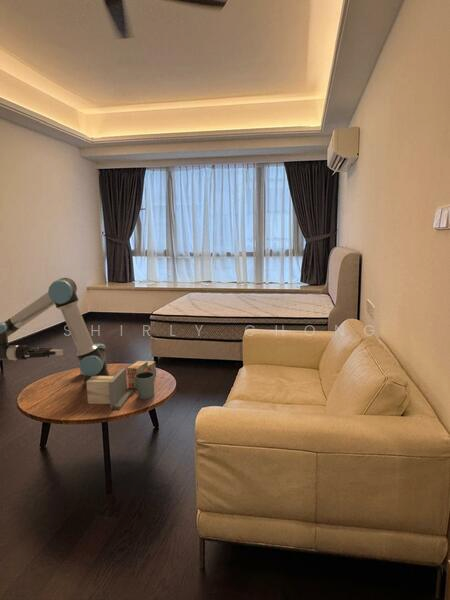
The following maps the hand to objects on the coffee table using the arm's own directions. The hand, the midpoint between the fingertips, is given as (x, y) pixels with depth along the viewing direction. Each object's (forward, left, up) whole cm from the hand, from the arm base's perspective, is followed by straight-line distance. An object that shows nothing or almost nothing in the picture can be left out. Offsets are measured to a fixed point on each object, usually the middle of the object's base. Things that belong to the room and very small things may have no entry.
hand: (62, 352), depth 200 cm
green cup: (-6, +41, -26) cm, 49 cm away
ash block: (0, +20, -26) cm, 33 cm away
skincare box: (-39, -6, -26) cm, 47 cm away
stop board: (0, +30, -26) cm, 40 cm away
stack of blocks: (-27, +33, -26) cm, 50 cm away
